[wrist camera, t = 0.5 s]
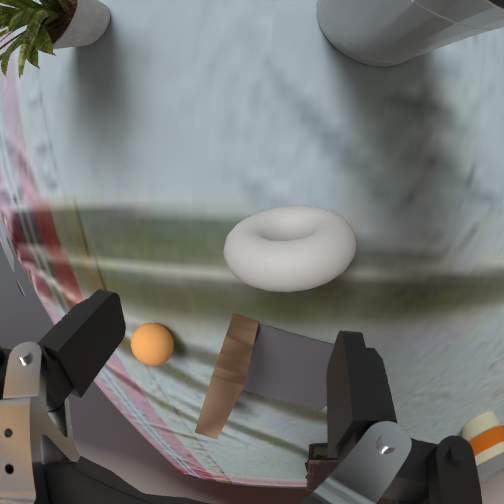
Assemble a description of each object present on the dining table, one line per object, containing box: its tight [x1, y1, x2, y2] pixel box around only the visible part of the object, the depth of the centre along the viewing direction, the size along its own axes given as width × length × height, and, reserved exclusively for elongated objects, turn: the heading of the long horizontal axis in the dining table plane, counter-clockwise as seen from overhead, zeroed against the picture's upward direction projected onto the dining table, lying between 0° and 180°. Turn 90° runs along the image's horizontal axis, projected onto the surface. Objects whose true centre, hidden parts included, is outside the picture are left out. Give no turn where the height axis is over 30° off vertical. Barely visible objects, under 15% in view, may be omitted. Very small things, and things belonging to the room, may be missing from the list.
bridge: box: [195, 313, 259, 439], centre depth 32 cm, size 3×14×9 cm, turn 164°
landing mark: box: [242, 324, 334, 409], centre depth 35 cm, size 14×14×1 cm
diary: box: [305, 443, 338, 491], centre depth 48 cm, size 19×25×5 cm
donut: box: [224, 206, 356, 292], centre depth 21 cm, size 10×4×10 cm, turn 99°
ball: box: [131, 323, 174, 366], centre depth 33 cm, size 6×6×6 cm
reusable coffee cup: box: [462, 411, 504, 483], centre depth 32 cm, size 13×13×15 cm
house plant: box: [0, 0, 110, 78], centre depth 12 cm, size 14×14×16 cm
